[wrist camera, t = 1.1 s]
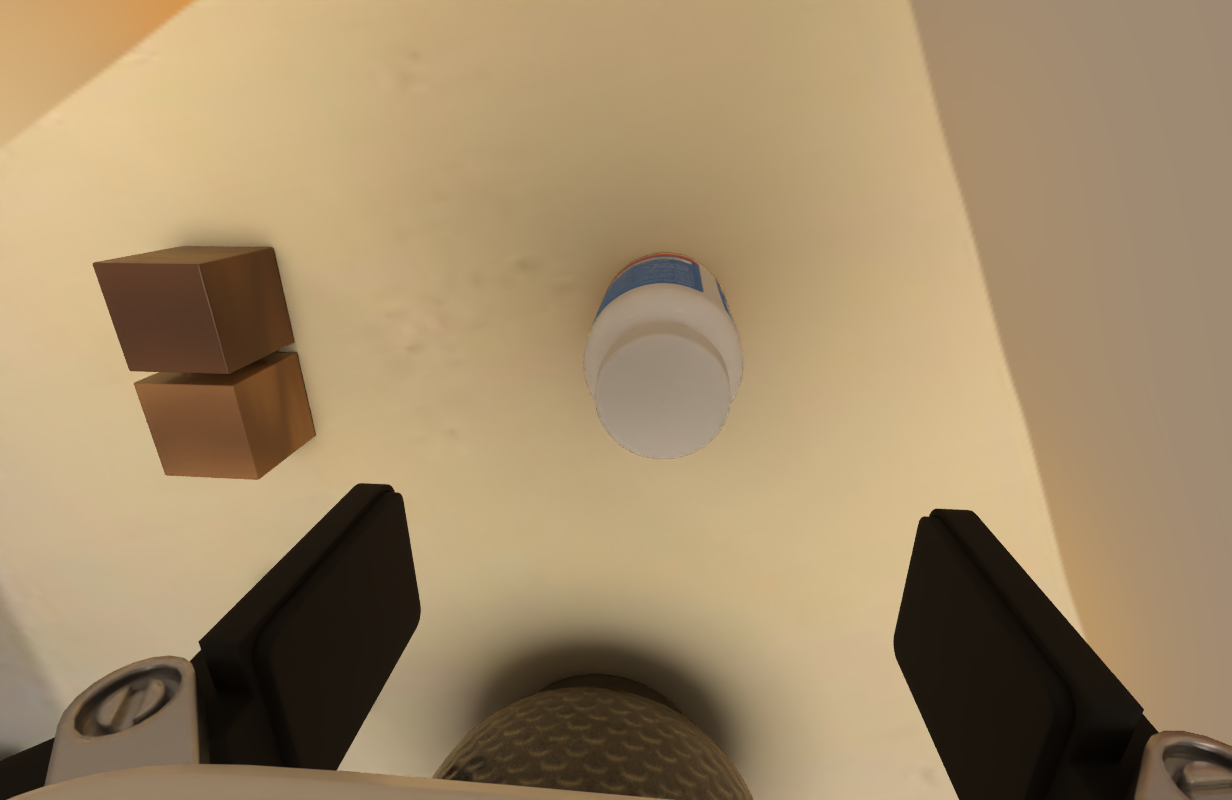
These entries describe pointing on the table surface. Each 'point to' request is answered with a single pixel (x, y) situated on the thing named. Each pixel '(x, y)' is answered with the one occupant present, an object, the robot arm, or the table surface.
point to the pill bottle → (663, 357)
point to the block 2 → (228, 418)
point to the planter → (596, 745)
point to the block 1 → (196, 308)
